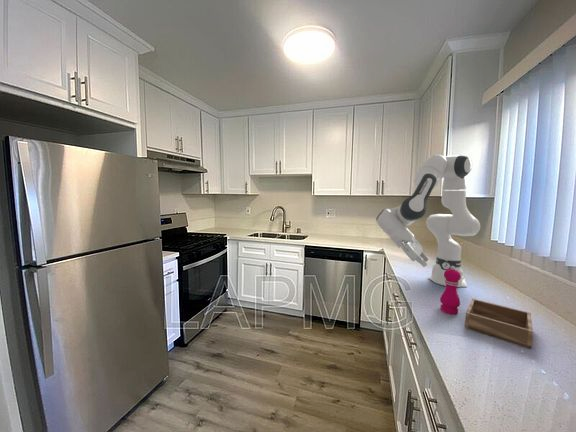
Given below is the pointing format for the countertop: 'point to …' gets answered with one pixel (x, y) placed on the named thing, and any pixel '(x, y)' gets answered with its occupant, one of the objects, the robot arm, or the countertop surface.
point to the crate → (500, 322)
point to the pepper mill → (450, 292)
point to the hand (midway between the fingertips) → (426, 263)
